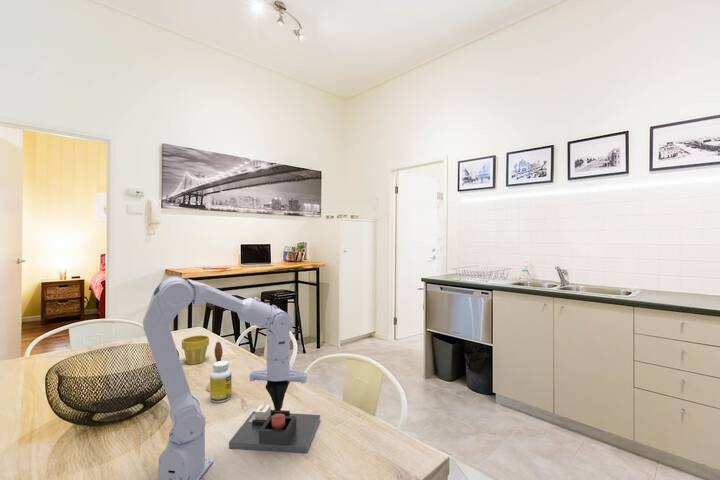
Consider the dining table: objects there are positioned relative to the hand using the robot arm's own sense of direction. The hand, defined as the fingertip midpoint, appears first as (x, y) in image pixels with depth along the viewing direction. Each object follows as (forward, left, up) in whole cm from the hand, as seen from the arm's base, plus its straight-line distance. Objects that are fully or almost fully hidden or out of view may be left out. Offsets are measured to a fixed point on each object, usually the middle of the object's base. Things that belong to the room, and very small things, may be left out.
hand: (278, 408), depth 88 cm
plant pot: (+51, +54, -9) cm, 74 cm away
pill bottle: (+21, +27, -9) cm, 35 cm away
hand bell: (+29, +32, -9) cm, 44 cm away
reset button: (0, 0, -5) cm, 5 cm away
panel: (+4, +2, -9) cm, 9 cm away
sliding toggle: (+7, +7, -7) cm, 12 cm away
